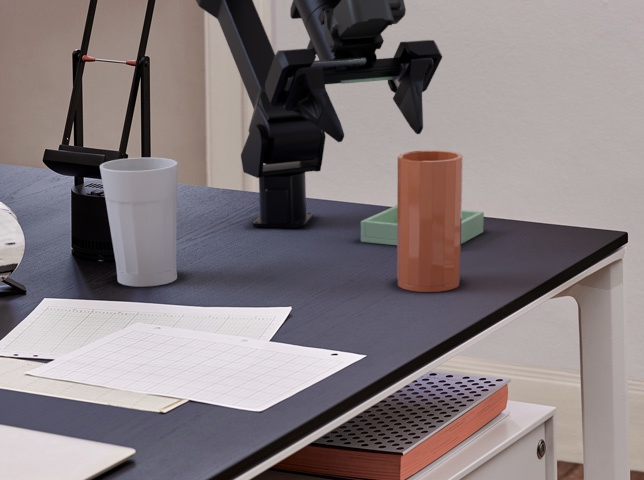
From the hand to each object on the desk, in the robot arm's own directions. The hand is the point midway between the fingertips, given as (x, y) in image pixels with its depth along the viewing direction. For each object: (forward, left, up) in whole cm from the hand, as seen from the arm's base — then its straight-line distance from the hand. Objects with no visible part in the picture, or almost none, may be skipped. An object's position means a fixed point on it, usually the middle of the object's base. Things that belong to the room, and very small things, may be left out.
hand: (381, 135), depth 140 cm
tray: (-15, +3, -14) cm, 21 cm away
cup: (+7, -24, -14) cm, 29 cm away
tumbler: (+6, +6, -14) cm, 16 cm away
